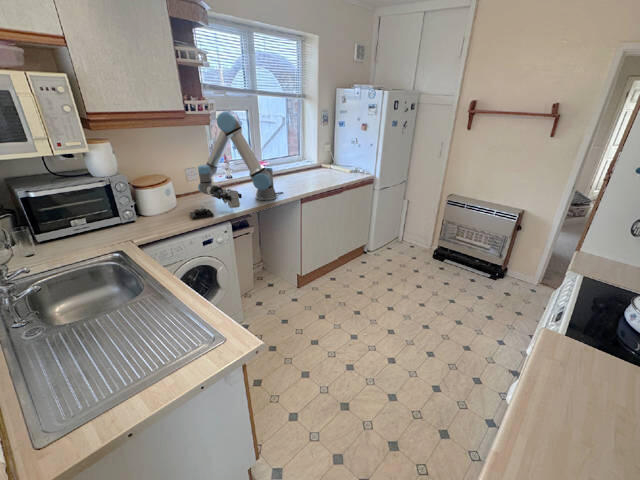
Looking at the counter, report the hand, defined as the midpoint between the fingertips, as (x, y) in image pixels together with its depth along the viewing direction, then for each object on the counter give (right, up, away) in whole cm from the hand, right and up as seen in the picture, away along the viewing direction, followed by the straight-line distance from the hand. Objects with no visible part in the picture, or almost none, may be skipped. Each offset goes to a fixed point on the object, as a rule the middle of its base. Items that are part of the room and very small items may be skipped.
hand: (235, 197), depth 206 cm
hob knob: (-21, -9, -4) cm, 23 cm away
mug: (-4, -5, +5) cm, 8 cm away
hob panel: (-21, -12, -3) cm, 24 cm away
